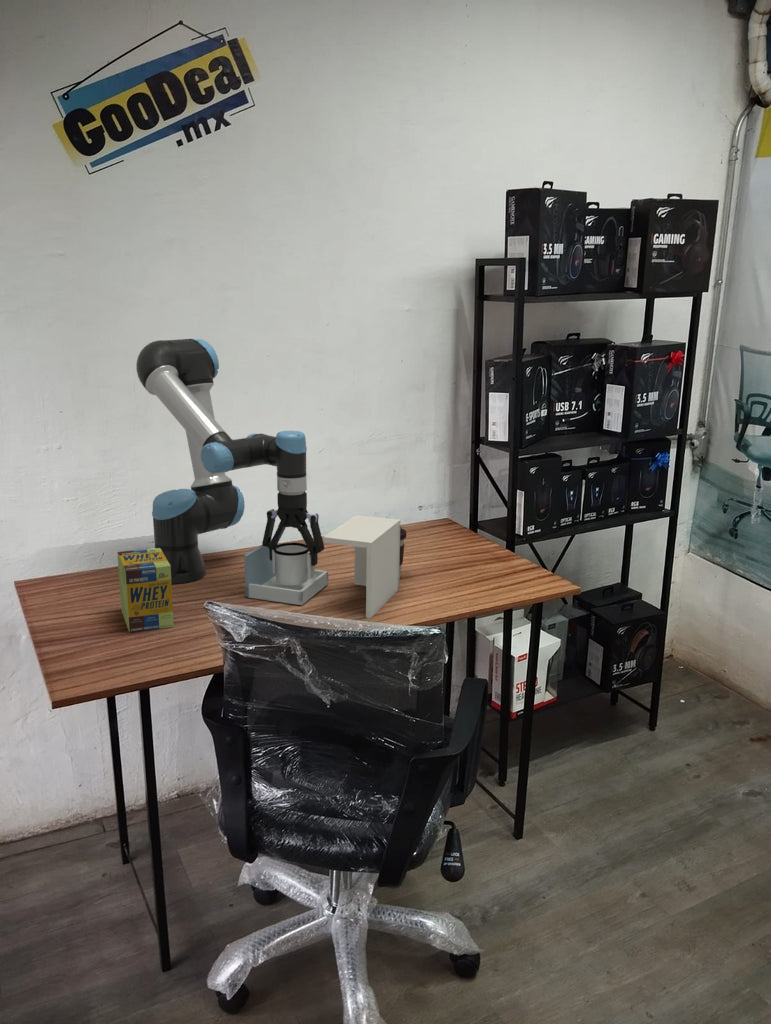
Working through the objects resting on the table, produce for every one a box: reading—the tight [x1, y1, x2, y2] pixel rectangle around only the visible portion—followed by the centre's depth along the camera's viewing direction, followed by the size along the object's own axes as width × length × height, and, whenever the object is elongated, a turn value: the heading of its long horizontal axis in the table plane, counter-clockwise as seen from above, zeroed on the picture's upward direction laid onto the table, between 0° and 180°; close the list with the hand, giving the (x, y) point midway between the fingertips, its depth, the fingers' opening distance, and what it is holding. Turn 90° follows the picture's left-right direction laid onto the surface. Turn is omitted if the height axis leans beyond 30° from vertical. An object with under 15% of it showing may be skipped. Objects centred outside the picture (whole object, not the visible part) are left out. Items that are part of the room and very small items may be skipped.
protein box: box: [116, 547, 175, 634], centre depth 203 cm, size 10×15×16 cm
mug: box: [273, 542, 310, 586], centre depth 222 cm, size 12×10×9 cm
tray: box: [243, 538, 329, 606], centre depth 223 cm, size 16×17×11 cm
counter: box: [322, 514, 401, 619], centre depth 217 cm, size 12×22×19 cm, turn 161°
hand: (293, 574), depth 223 cm, fingers closed on mug, 9 cm apart
